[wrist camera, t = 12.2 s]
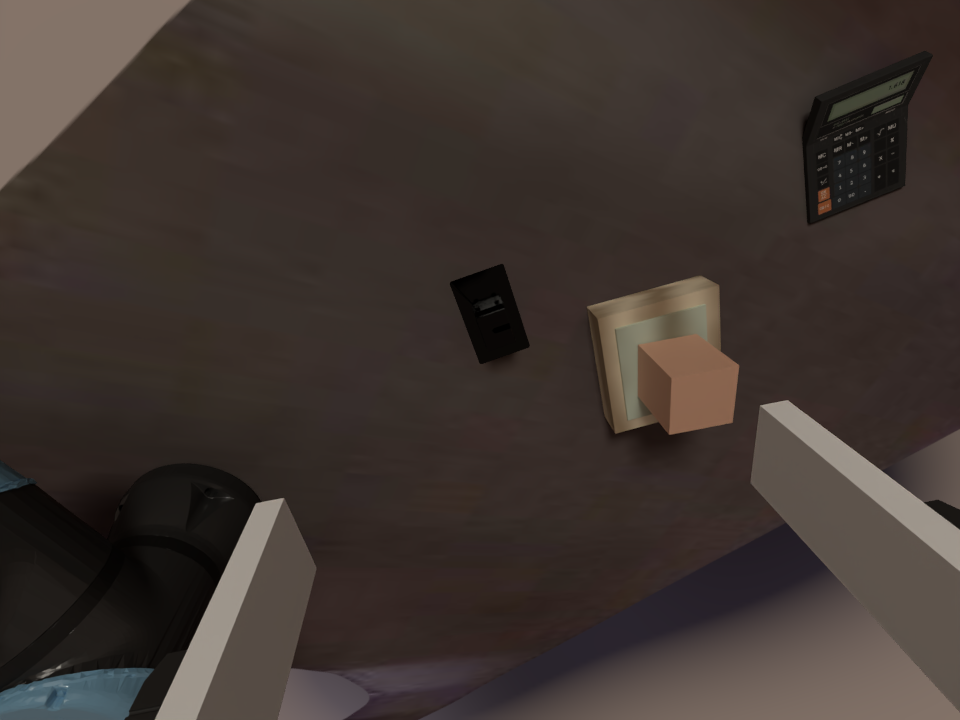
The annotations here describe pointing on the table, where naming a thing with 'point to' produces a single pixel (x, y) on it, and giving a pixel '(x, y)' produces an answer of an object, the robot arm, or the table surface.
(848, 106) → the calculator
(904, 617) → the robot arm
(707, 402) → the terracotta block
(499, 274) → the black rectangular box
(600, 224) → the table surface
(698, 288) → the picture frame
